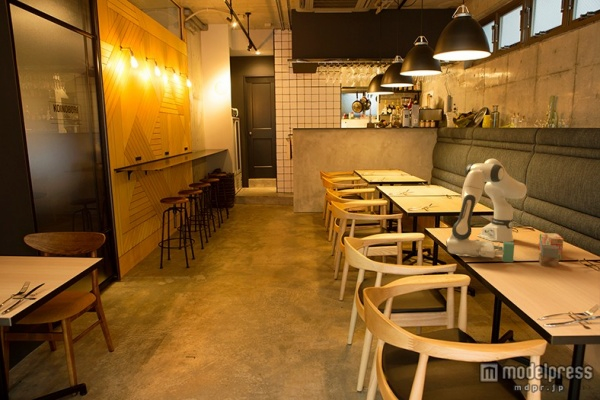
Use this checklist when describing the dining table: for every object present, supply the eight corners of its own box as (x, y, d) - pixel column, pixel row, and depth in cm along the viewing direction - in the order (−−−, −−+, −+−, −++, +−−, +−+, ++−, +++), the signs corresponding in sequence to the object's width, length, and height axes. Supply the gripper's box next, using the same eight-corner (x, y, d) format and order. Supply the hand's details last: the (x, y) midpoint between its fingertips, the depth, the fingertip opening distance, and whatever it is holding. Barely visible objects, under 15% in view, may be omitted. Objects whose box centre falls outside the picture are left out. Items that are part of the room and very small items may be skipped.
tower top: (542, 256, 223) (543, 247, 222) (540, 253, 229) (541, 244, 229) (557, 258, 220) (558, 249, 219) (555, 254, 227) (556, 245, 226)
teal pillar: (502, 261, 231) (504, 243, 230) (502, 258, 236) (503, 241, 234) (513, 262, 229) (514, 244, 228) (512, 259, 234) (513, 242, 232)
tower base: (540, 266, 224) (541, 257, 223) (538, 261, 231) (539, 252, 230) (558, 267, 220) (558, 258, 220) (555, 263, 228) (556, 254, 227)
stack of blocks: (538, 248, 255) (540, 229, 253) (550, 249, 253) (551, 229, 251) (549, 259, 235) (551, 237, 233) (561, 260, 233) (563, 238, 231)
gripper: (476, 247, 228) (505, 250, 223) (476, 238, 247) (502, 240, 241) (476, 259, 229) (504, 261, 224) (475, 249, 248) (501, 251, 242)
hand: (503, 250), depth 233 cm, fingers open, 8 cm apart
